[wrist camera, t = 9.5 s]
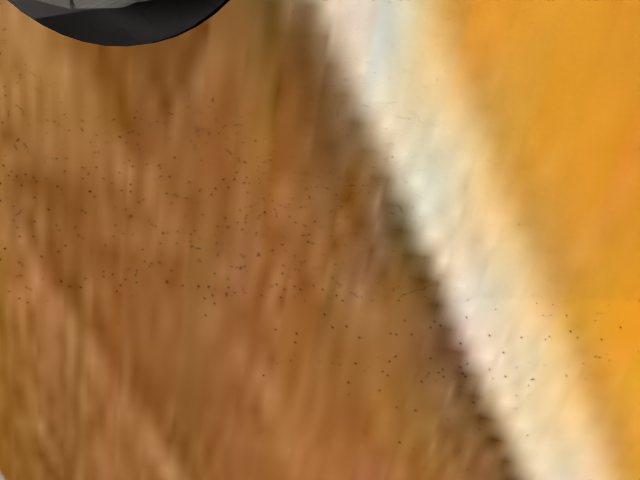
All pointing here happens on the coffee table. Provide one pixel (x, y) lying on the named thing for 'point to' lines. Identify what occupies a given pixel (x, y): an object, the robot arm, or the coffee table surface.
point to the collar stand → (120, 18)
